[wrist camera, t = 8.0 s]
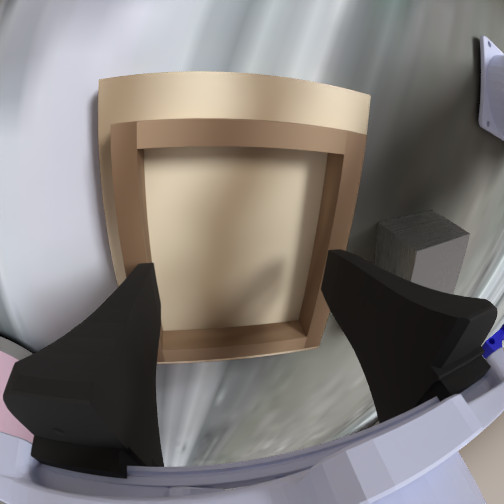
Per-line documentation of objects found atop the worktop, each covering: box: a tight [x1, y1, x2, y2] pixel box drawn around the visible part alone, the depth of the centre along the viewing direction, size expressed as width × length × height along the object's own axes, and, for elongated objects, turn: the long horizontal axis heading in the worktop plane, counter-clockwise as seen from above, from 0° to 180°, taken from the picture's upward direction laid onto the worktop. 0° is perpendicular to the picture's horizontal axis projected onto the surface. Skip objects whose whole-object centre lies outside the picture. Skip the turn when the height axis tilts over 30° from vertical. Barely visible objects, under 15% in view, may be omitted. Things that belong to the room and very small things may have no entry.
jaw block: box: [374, 210, 470, 294], centre depth 16 cm, size 5×7×4 cm
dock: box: [98, 71, 371, 364], centre depth 13 cm, size 12×16×3 cm
